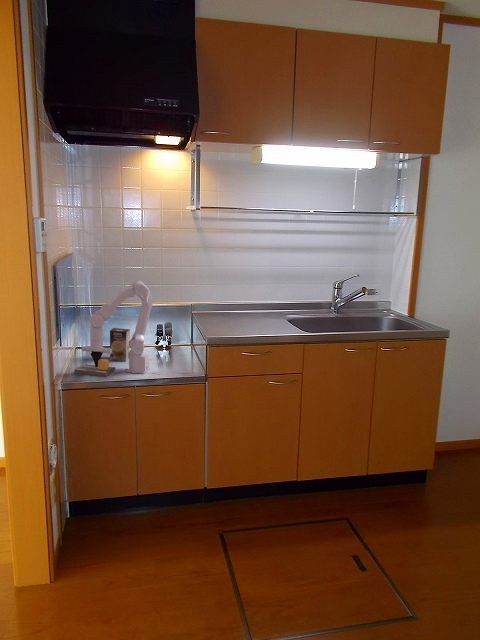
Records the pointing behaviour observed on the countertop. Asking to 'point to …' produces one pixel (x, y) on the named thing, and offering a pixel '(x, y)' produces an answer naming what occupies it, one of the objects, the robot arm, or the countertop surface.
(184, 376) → the countertop surface
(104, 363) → the knob
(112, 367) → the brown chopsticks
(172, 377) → the countertop surface
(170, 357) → the countertop surface
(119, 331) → the coffee box
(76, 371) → the switch panel
